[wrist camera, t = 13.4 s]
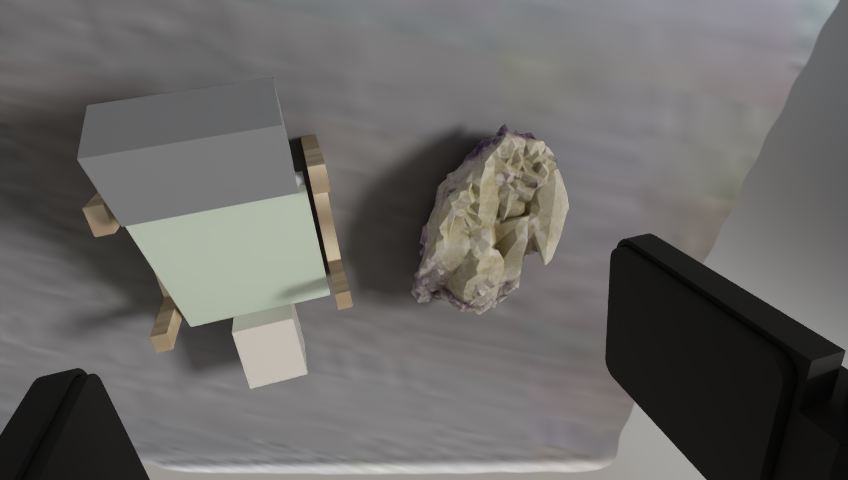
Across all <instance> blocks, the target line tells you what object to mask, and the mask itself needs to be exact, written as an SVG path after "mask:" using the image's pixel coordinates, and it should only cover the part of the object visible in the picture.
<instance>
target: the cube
mask: <svg viewBox="0 0 848 480" xmlns="http://www.w3.org/2000/svg"><path fill="white" fill-rule="evenodd" d="M232 335H233V338H234V341H235V344H236V347H237V350H238V353H239V356H240V359H241V362H242V365H243V368H244V371H245V374H246V377H247V380H248V383H249V386H250V389H252V388H255V387H259V386H263V385H267V384H271V383H275V382H279V381H283V380H286V379H290V378H294V377H298V376H302V375H306V374H307V364H306V354H305V344H304V340H303V336H302V332H301V328H300V324H299V320H298V317H297V313H296V309H295V305H294V303H293V304H289V305H284V306H280V307H276V308H271V309H267V310H263V311H258V312H254V313H250V314H245V315H241V316H237V317H234V319H233V327H232Z"/></svg>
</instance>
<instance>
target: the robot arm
mask: <svg viewBox="0 0 848 480" xmlns="http://www.w3.org/2000/svg"><path fill="white" fill-rule="evenodd" d="M844 354H845V350H844V349H842V348H840V347H839V346H837V345H835V344H833V343H832V342H830V341H829V340H827V339H825V338H824V337H822V336H820V335H819V334H817V333H815V332H814V331H812V330H811V329H809V328H807V327H806V326H804V325H802V324H801V323H799V322H797V321H796V320H794V319H792V318H790V317H789V316H787V315H786V314H784V313H782V312H781V311H779V310H777V309H776V308H774V307H772V306H771V305H769V304H768V303H766V302H764V301H763V300H761V299H759V298H758V297H756V296H754V295H753V294H751V293H749V292H747V291H746V290H744V289H743V288H741V287H739V286H738V285H736V284H734V283H733V282H731V281H729V280H728V279H726V278H725V277H723V276H721V275H719V274H718V273H716V272H715V271H713V270H711V269H710V268H708V267H706V266H705V265H703V264H701V263H700V262H698V261H696V260H695V259H693V258H691V257H690V256H688V255H686V254H685V253H683V252H682V251H680V250H678V249H677V248H675V247H673V246H672V245H670V244H668V243H667V242H665V241H663V240H662V239H660V238H658V237H657V236H655V235H653V234H644V235H640V236H635V237H631V238H627V239H623V240H621V241H620V242H619V243H618V245H617V248H616V249H614V250H613V251H612V253H611V258H610V277H609V297H608V317H607V337H606V356H605V358H606V365H607V368H608V370H609V372H610V374H611V375H612V377H613V378H614V379H615V380H616V381H617V382H618V383H619V385H620V386H621V387H622V388H623V389H624V390H625V391H626V392H627V393H628V394H629V395H630V397H631V398H632V399H633V400H634V401H635V402H636V403H637V404H638V405H639V406H640V407H641V409H642V410H643V411H644V412H645V413H646V414H647V415H648V416H649V417H650V418H651V419H652V421H653V422H654V423H655V424H656V425H657V426H658V427H659V428H660V429H661V430H662V431H663V432H664V434H665V435H666V436H667V437H668V438H669V439H670V440H671V441H672V442H673V443H674V445H675V446H676V447H677V448H678V449H679V450H680V451H681V452H682V453H683V454H684V455H685V456H686V458H687V459H688V460H689V461H690V462H691V463H692V464H693V465H694V466H695V468H697V470H698V471H699V472H700V473H701V474H702V475H703V476H704V477H705V478H706V479H707V480H848V369H846V368H845V367H843V366H841V364H842V361H843V358H844ZM0 480H150V479H149V477H148V475H147V473H146V471H145V469H144V467H143V465H142V463H141V461H140V459H139V457H138V455H137V453H136V451H135V449H134V447H133V445H132V442H131V440H130V438H129V436H128V434H127V432H126V430H125V428H124V426H123V424H122V422H121V420H120V418H119V416H118V414H117V412H116V410H115V408H114V406H113V404H112V402H111V399H110V397H109V395H108V393H107V391H106V389H105V387H104V385H103V383H102V381H101V379H100V378H99V376H97V375H96V374H89V375H87V373H86V372H85V371H84V370H82V369H80V368H76V369H72V370H67V371H63V372H59V373H55V374H50V375H46V376H42V377H39V378H37V379H36V380H35V381H34V382H33V384H32V385H31V387H30V389H29V390H28V392H27V393H26V395H25V397H24V398H23V400H22V401H21V403H20V405H19V406H18V408H17V409H16V411H15V413H14V414H13V416H12V417H11V419H10V421H9V422H8V424H7V425H6V427H5V429H4V430H3V432H2V433H1V435H0Z"/></svg>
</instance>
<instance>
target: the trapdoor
mask: <svg viewBox="0 0 848 480" xmlns="http://www.w3.org/2000/svg"><path fill="white" fill-rule="evenodd" d="M77 160H78V162H79V163H80V165H81V166H82V168H83V169H84V171H85V172H86V174H87V175H88V177H89V178H90V180H91V181H92V183H93V184H94V186H95V187H96V189H97V190H98V192H99V193H100V195H101V197H102V198H103V200H104V201H105V203H106V204H107V206H108V207H109V209H110V210H111V212H112V213H113V215H114V216H115V218H116V219H117V221H118V222H119V224H120V225H121V227H126V229H127V230H128V232H129V233H130V235H131V236H132V238H133V239H134V241H135V242H136V244H137V245H138V247H139V248H140V250H141V251H142V253H143V255H144V256H145V258H146V259H147V261H148V262H149V264H150V265H151V267H152V268H153V270H154V271H155V273H156V274H157V276H158V278H159V279H160V281H161V282H162V284H163V285H164V287H165V288H166V290H167V291H168V293H169V294H170V296H171V297H172V299H173V300H174V302H175V304H176V305H177V307H178V308H179V310H180V311H181V313H182V314H183V316H184V317H185V319H186V320H187V322H188V323H189V325H190V326H191V327H194V326H198V325H202V324H206V323H211V322H215V321H219V320H224V319H228V318H232V317H237V316H241V315H245V314H250V313H254V312H258V311H263V310H267V309H271V308H276V307H280V306H284V305H289V304H293V303H297V302H302V301H306V300H310V299H315V298H319V297H323V296H328V295H330V291H329V286H328V282H327V277H326V273H325V269H324V264H323V260H322V256H321V251H320V247H319V242H318V238H317V234H316V229H315V225H314V221H313V216H312V212H311V207H310V203H309V199H308V194H307V190H306V186H305V181H304V177H303V172H302V171H299V172H295V171H294V166H293V161H292V156H291V150H290V145H289V141H288V137H287V133H286V129H285V125H284V120H283V116H282V112H281V108H280V104H279V100H278V96H277V91H276V87H275V83H274V79H273V77H272V78H265V79H258V80H252V81H245V82H238V83H232V84H225V85H218V86H212V87H205V88H198V89H192V90H185V91H178V92H172V93H165V94H158V95H152V96H145V97H138V98H132V99H125V100H118V101H112V102H105V103H98V104H92V105H87V108H86V113H85V119H84V124H83V129H82V135H81V140H80V145H79V151H78V156H77Z"/></svg>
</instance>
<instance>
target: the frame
mask: <svg viewBox="0 0 848 480" xmlns="http://www.w3.org/2000/svg"><path fill="white" fill-rule="evenodd" d="M301 141H302V146H303V151H304V155H305V160H306V164H307V169H308V174H309V178H310V183H311V187H312V192H313V196H314V201H315V206H316V210H317V215H318V219H319V224H320V229H321V233H322V238H323V242H324V247H325V252H326V256H327V261H328V265H329V270H330V274H331V279H332V283H333V288H334V292H335V297H336V301H337V306H338V310H341V309H345V308H349V307H353V304H352V299H351V294H350V290H349V286H348V283H347V279H346V275H345V272H344V268H343V265H342V261H341V257H340V252H339V247H338V242H337V237H336V232H335V227H334V223H333V218H332V213H331V208H330V203H329V198H328V193H327V192H331V191H330V186H329V181H328V176H327V171H326V166H325V162H324V159H323V156H322V153H321V150H320V147H319V145H318V142H317V139H316V136H315V135H310V136H304V137H301ZM82 209H83V211H84V213H85V216H86V218H87V220H88V223H89V225H90V227H91V230H92V232H93V234H94V237H99V236H104V235H109V234H114V233H115V232H116V231H117V229H118V228H119V226H120V224H119V222H118V221H117V219H116V218H115V216H114V215H113V213H112V212H111V210H110V209H109V207H108V206H107V204H106V203H105V201H104V200H103V198H102V197H101V195H100V193H99V192H97V193H96V194H95V195H94V196H93V197H92V199H91V200H90V201H89V202H88V203H87V204H86V205H85V206H84V207H83V208H82ZM154 272H155V271H154ZM155 275H156V278H157V280H158V283H159V285H160V288H161V291H162V293H163V296H164V300H163V302H162V305H161V308H160V311H159V314H158V316H157V319H156V322H155V325H154V327H153V330H152V333H151V336H150V338H151V341H152V343H153V346H154V348H155V350H156V353H159V352H164V351H168V350H172V349H173V348H174V344H175V341H176V337H177V334H178V330H179V327H180V323H181V319H182V316H183V314H182V313H181V311H180V310H179V308H178V307H177V305H176V304H175V302H174V300H173V299H172V297H171V296H170V294H169V293H168V291H167V290H166V288H165V287H164V285H163V284H162V282H161V281H160V279H159V278H158V276H157V274H156V273H155Z"/></svg>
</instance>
